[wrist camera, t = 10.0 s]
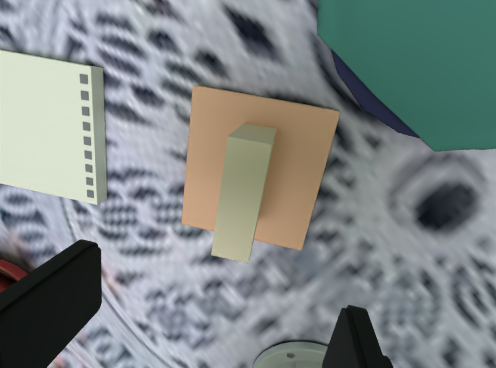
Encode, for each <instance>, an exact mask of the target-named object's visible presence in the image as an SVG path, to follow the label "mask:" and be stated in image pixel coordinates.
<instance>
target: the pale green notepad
mask: <svg viewBox="0 0 496 368" xmlns="http://www.w3.org/2000/svg"><path fill="white" fill-rule="evenodd" d="M0 183H2V184H6V185H11V186H15V187H20V188H24V189H29V190H33V191H38V192H42V193H47V194H51V195H56V196H60V197H65V198H69V199H74V200H78V201H83V202H87V203H92V204H96V205H98V204H99V203H101V202H102V201H104V200H106V199H107V174H106V142H105V111H104V80H103V68H101V67H95V66H90V65H84V64H78V63H73V62H67V61H62V60H56V59H51V58H45V57H39V56H34V55H28V54H23V53H17V52H12V51H6V50H1V49H0Z"/></svg>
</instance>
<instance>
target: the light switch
mask: <svg viewBox="0 0 496 368" xmlns="http://www.w3.org/2000/svg"><path fill="white" fill-rule="evenodd" d="M339 116H340V111H338V110H333V109H328V108H322V107H317V106H311V105H306V104H300V103H295V102H289V101H283V100H278V99H272V98H267V97H261V96H256V95H250V94H244V93H239V92H233V91H228V90H222V89H217V88H211V87H206V86H200V85H193V92H192V104H191V116H190V128H189V140H188V152H187V165H186V177H185V189H184V201H183V213H182V224H184V225H188V226H193V227H197V228H202V229H206V230H211V231H215V232H214V240H213V247H212V255H214V256H218V257H223V258H227V259H231V260H236V261H240V262H244V263H248V262H249V258H250V254H251V249H252V245H253V241H254V240H256V241H261V242H265V243H270V244H274V245H279V246H283V247H288V248H292V249H297V250H301V251H302V247H303V244H304V240H305V237H306V233H307V229H308V226H309V222H310V219H311V215H312V212H313V208H314V205H315V201H316V197H317V194H318V190H319V187H320V183H321V180H322V176H323V173H324V169H325V165H326V162H327V158H328V155H329V151H330V148H331V144H332V141H333V137H334V133H335V130H336V126H337V123H338V119H339Z"/></svg>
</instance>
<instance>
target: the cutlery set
mask: <svg viewBox="0 0 496 368" xmlns="http://www.w3.org/2000/svg"><path fill="white" fill-rule="evenodd" d="M317 31H318V35H319V36H320V38H321V39H322V40H323V41H324V42H325V43H326V44H327V45H328V46H329V47H330V48H331V51H332V55H333V58H334V62H335V65H336V69H337V72H338V74H339V75H340V77H341V78H342V80H343V81H344V82H345V84H346V85H347V87H348V88H349V89H350V91H351V92H352V94H353V95H354V96H355V98H356V99H357V101H358V102H359V103H360V105H361V106H362V108H363V109H364V110H366V111H367V112H369V113H370V114H372V115H373V116H375V117H376V118H378V119H379V120H381V121H382V122H384V123H385V124H386V125H388V126H389V127H391V128H392V129H394V130H395V131H397V132H398V133H402V134H406V135H410V136H413V137H417V138H421V139H422V140H423V141H424V142H425V143H426V144H427V145H428V146H429V147H430V148H431V149H433V150H434V151H449V150H469V149H478V150H486V149H495V148H496V0H318V25H317Z"/></svg>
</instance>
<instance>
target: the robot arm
mask: <svg viewBox="0 0 496 368" xmlns="http://www.w3.org/2000/svg"><path fill="white" fill-rule="evenodd" d="M101 303H102V288H101V249H100V248H99V247H98V244H97V243H95V242H91V241H87V240H83V239H82V240H79V241H77V242H75V243H74V244H72V245H71V246H69V247H68V248H66V249H65V250H63V251H62V252H60V253H59V254H57V255H56V256H54V257H53V258H51V259H50V260H48V261H47V262H45V263H44V264H43V265H41V266H40V267H38V268H37V269H35V270H34V271H32V272H31V273H29V274H28V275H26V276H25V277H23V278H22V279H20V280H19V281H17V282H16V283H14V284H13V285H11V286H10V287H8V288H7V289H5V290H4V291H2V292H1V293H0V368H47V366H48V365H49V364H50V363H51V362H52V361H53V360H54V359H55V358H56V357H57V355H58V354H59V353H60V352H61V351H62V350H63V349H64V348H65V347H66V346H67V344H68V343H69V342H70V341H71V340H72V339H73V338H74V337H75V336H76V335H77V333H78V332H79V331H80V330H81V329H82V328H83V327H84V326H85V325H86V324H87V323H88V321H89V320H90V319H91V318H92V317H93V316H94V315H95V314H96V313H97V311H98V310H99V308H100V306H101ZM252 368H393V366H392V363H391V361H390V359H389V358H388V357H387V356H384V355H383V354H382V352H381V349H380V346H379V343H378V340H377V338H376V335H375V332H374V329H373V326H372V323H371V321H370V318H369V315H368V312H367V310H366V309H364V308H359V307H355V306H351V305H348V307H347V308H342V309H341V312H340V315H339V317H338V320H337V323H336V326H335V329H334V331H333V334H332V337H331V340H330V342H329V345H328V347H327V346H324V345H320V344H316V343H310V342H289V343H283V344H279V345H277V346H274V347H271V348H270V349H268V350H266V351H264V352H263V353H262V354H261V355H260V356H259V357H258V358H257V359H256V361H255V362H254V364H253V367H252Z"/></svg>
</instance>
